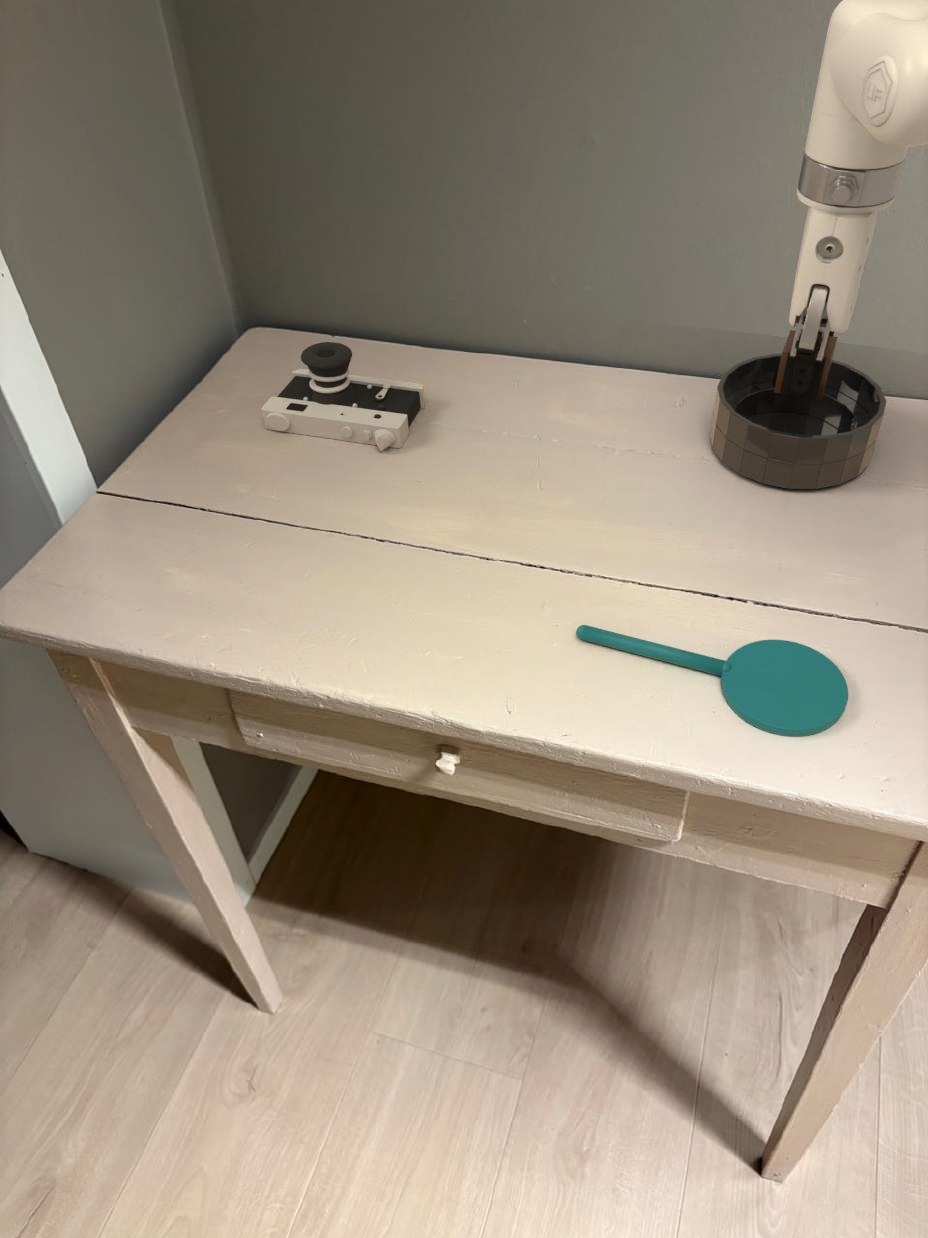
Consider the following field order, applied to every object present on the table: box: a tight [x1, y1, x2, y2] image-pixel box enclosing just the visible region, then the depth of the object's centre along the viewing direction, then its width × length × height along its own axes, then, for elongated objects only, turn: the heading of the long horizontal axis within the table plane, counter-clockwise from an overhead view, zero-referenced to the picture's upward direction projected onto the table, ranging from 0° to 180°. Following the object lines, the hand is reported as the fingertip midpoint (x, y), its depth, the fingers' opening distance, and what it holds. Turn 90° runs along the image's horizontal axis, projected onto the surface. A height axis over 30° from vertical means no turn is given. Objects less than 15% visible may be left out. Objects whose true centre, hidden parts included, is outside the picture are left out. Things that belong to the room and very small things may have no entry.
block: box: [774, 329, 838, 400], centre depth 88 cm, size 4×4×4 cm
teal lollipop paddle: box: [575, 624, 849, 737], centre depth 73 cm, size 21×9×1 cm, turn 67°
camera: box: [260, 341, 426, 452], centre depth 99 cm, size 15×7×10 cm
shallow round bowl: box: [709, 353, 887, 490], centre depth 92 cm, size 15×15×6 cm
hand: (803, 380), depth 89 cm, fingers closed on block, 4 cm apart
